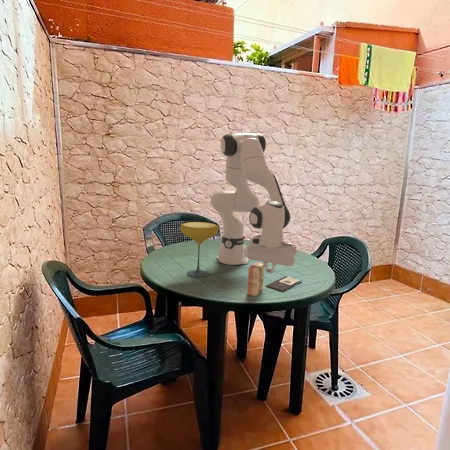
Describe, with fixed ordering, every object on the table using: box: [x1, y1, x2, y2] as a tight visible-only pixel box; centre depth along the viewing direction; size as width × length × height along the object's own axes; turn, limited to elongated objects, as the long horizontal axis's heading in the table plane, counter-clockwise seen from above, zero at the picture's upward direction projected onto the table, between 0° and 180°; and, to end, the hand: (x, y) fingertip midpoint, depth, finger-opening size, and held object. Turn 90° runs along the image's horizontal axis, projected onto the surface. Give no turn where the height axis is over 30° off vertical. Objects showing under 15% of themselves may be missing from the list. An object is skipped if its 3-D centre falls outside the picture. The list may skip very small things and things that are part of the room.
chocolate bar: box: [265, 275, 301, 293], centre depth 160 cm, size 9×1×18 cm
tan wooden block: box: [246, 261, 265, 297], centre depth 148 cm, size 9×4×12 cm, turn 156°
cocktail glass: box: [180, 219, 220, 279], centre depth 166 cm, size 18×18×25 cm
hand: (269, 272), depth 145 cm, fingers closed
